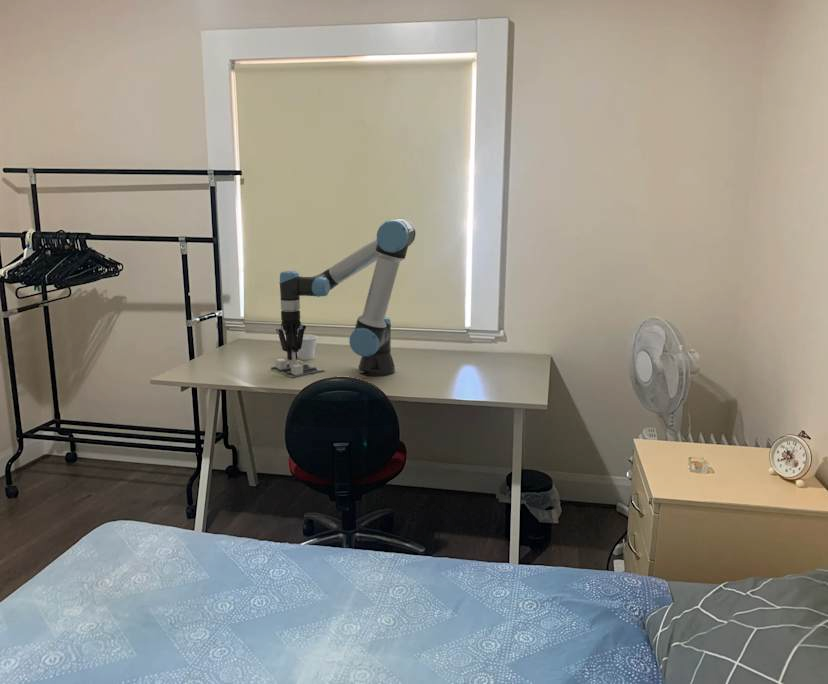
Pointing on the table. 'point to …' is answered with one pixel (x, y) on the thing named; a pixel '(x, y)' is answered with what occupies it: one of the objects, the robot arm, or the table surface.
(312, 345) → the cup
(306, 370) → the panel
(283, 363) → the toggle
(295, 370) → the toggle
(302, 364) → the toggle
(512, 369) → the table surface
